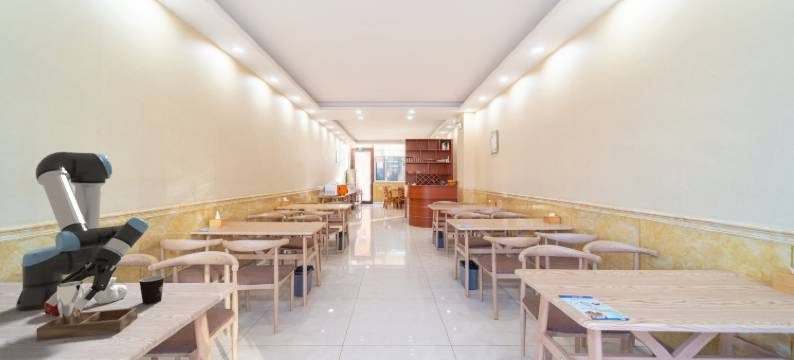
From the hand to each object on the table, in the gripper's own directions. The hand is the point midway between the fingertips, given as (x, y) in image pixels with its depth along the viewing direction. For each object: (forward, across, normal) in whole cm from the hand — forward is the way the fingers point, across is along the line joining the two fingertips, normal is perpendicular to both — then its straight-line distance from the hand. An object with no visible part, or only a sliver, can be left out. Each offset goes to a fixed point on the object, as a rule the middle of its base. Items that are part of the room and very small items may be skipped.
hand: (63, 306), depth 113 cm
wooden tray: (+3, -5, -10) cm, 12 cm away
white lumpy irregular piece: (-12, +19, -25) cm, 33 cm away
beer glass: (+4, 0, -7) cm, 8 cm away
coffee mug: (-16, 0, -29) cm, 33 cm away
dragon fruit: (-1, +22, -14) cm, 27 cm away
